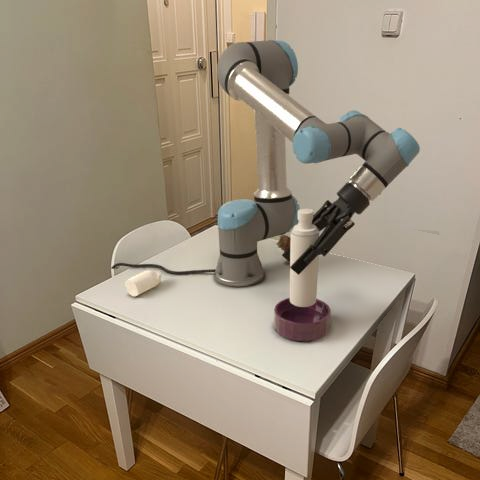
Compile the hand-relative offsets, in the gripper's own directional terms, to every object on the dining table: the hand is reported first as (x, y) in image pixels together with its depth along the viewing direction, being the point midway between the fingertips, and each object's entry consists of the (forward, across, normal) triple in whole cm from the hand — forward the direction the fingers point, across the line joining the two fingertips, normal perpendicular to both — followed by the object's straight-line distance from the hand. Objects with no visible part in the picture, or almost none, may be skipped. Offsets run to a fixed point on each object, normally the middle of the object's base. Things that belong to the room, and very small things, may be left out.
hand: (290, 264), depth 118 cm
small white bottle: (+38, +33, +12) cm, 52 cm away
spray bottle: (+5, 0, -10) cm, 11 cm away
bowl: (+11, 0, -16) cm, 19 cm away
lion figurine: (+4, +39, -22) cm, 45 cm away
